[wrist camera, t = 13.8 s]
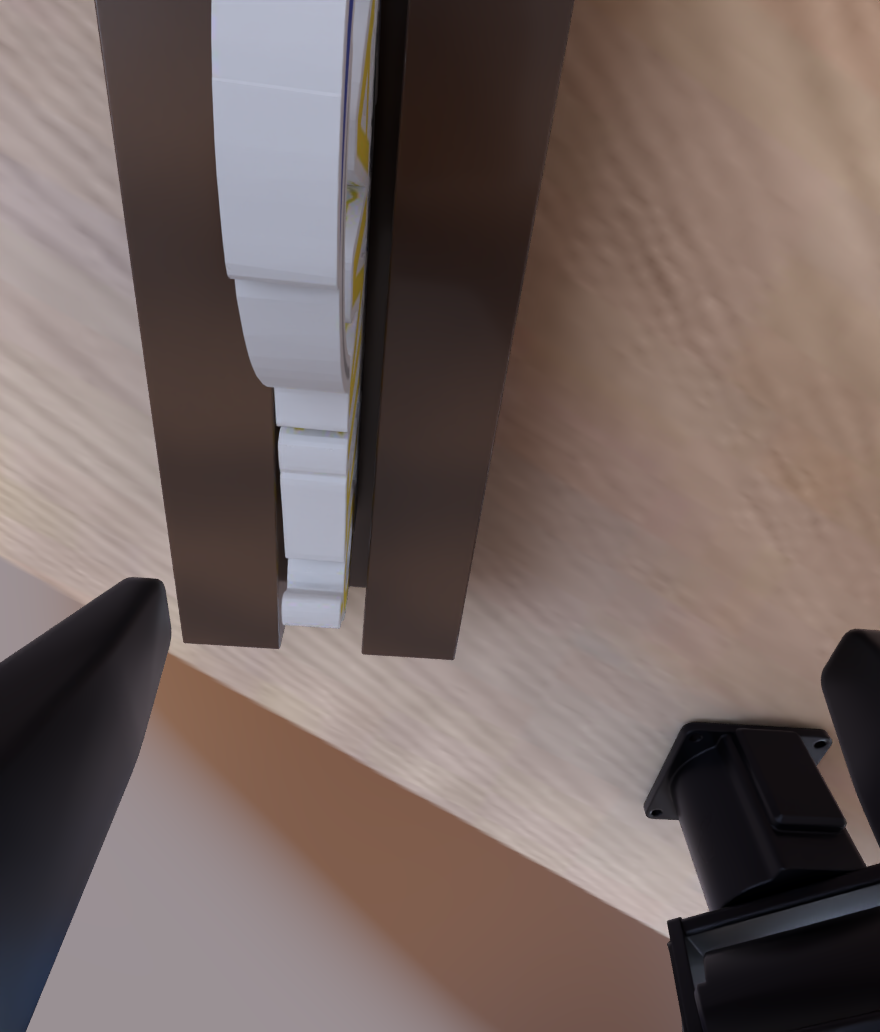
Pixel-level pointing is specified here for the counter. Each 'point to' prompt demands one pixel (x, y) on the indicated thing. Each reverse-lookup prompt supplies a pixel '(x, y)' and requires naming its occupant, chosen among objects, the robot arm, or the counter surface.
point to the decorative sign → (302, 254)
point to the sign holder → (389, 308)
